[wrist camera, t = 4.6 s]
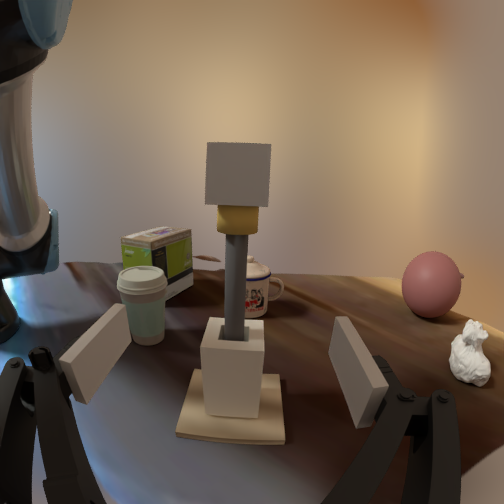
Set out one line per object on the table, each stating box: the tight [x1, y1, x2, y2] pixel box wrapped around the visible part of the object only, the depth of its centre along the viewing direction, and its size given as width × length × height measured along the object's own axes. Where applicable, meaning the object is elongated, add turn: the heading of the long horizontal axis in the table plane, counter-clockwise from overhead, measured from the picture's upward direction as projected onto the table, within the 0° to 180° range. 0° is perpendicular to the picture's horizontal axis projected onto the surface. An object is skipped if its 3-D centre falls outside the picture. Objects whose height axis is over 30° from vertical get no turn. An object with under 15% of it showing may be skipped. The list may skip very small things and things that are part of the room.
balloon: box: [402, 251, 464, 318], centre depth 53 cm, size 15×20×15 cm
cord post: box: [205, 142, 271, 341], centre depth 26 cm, size 5×5×28 cm
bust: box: [449, 319, 491, 387], centre depth 31 cm, size 12×8×11 cm
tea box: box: [121, 226, 193, 301], centre depth 62 cm, size 15×10×15 cm, turn 158°
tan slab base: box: [175, 369, 285, 445], centre depth 30 cm, size 12×12×1 cm
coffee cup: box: [117, 266, 168, 345], centre depth 42 cm, size 8×9×12 cm
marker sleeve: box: [200, 317, 264, 418], centre depth 28 cm, size 6×6×10 cm
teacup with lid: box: [245, 256, 284, 318], centre depth 56 cm, size 12×9×12 cm
